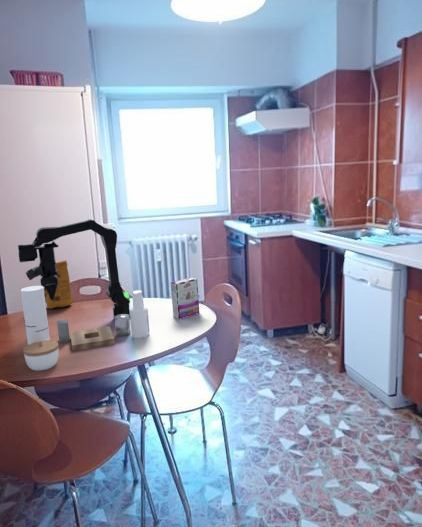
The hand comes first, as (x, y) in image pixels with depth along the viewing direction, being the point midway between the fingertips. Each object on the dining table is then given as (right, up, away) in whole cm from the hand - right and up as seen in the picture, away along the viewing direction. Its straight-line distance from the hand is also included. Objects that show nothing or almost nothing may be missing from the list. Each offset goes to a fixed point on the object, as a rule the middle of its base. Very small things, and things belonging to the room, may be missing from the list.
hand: (52, 296), depth 173 cm
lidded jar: (+10, -21, -33) cm, 40 cm away
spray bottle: (+38, -15, -8) cm, 41 cm away
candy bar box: (+54, -10, +13) cm, 56 cm away
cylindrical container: (+5, -20, -24) cm, 31 cm away
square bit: (+9, -16, -10) cm, 21 cm away
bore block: (+20, -16, -13) cm, 29 cm away
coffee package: (-11, -7, +39) cm, 41 cm away
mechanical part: (+19, -5, +46) cm, 50 cm away
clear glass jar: (+31, -15, -7) cm, 34 cm away
